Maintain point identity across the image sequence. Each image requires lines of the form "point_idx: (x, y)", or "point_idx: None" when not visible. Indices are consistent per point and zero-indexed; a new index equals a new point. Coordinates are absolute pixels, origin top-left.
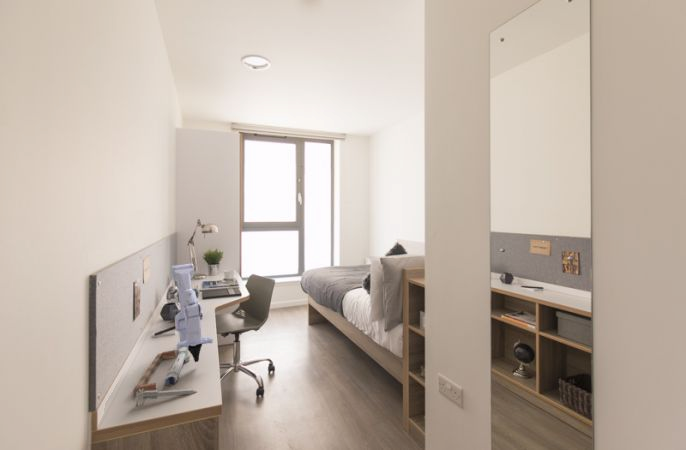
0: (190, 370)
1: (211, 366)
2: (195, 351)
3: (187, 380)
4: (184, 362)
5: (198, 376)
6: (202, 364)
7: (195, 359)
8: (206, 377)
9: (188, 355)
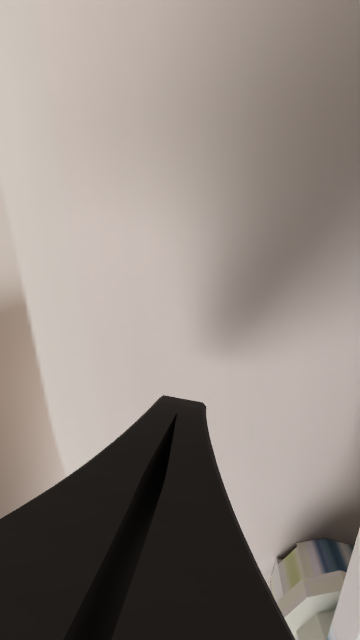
0: (265, 341)
1: (53, 321)
2: (91, 578)
3: (309, 37)
4: (325, 541)
5: (162, 114)
6: None
7: (184, 418)
8: (57, 28)
9: (290, 620)
